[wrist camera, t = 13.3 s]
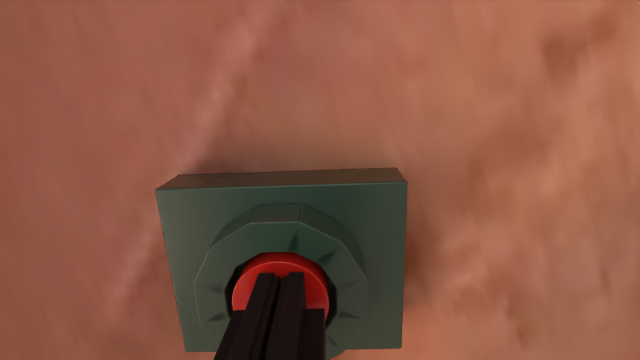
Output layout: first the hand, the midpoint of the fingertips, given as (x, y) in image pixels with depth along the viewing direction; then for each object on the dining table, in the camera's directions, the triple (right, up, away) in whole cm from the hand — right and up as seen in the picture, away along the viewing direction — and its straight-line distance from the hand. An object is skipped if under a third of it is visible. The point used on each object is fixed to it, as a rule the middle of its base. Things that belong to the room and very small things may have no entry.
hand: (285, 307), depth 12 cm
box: (0, +1, +4) cm, 4 cm away
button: (0, +1, +2) cm, 2 cm away
